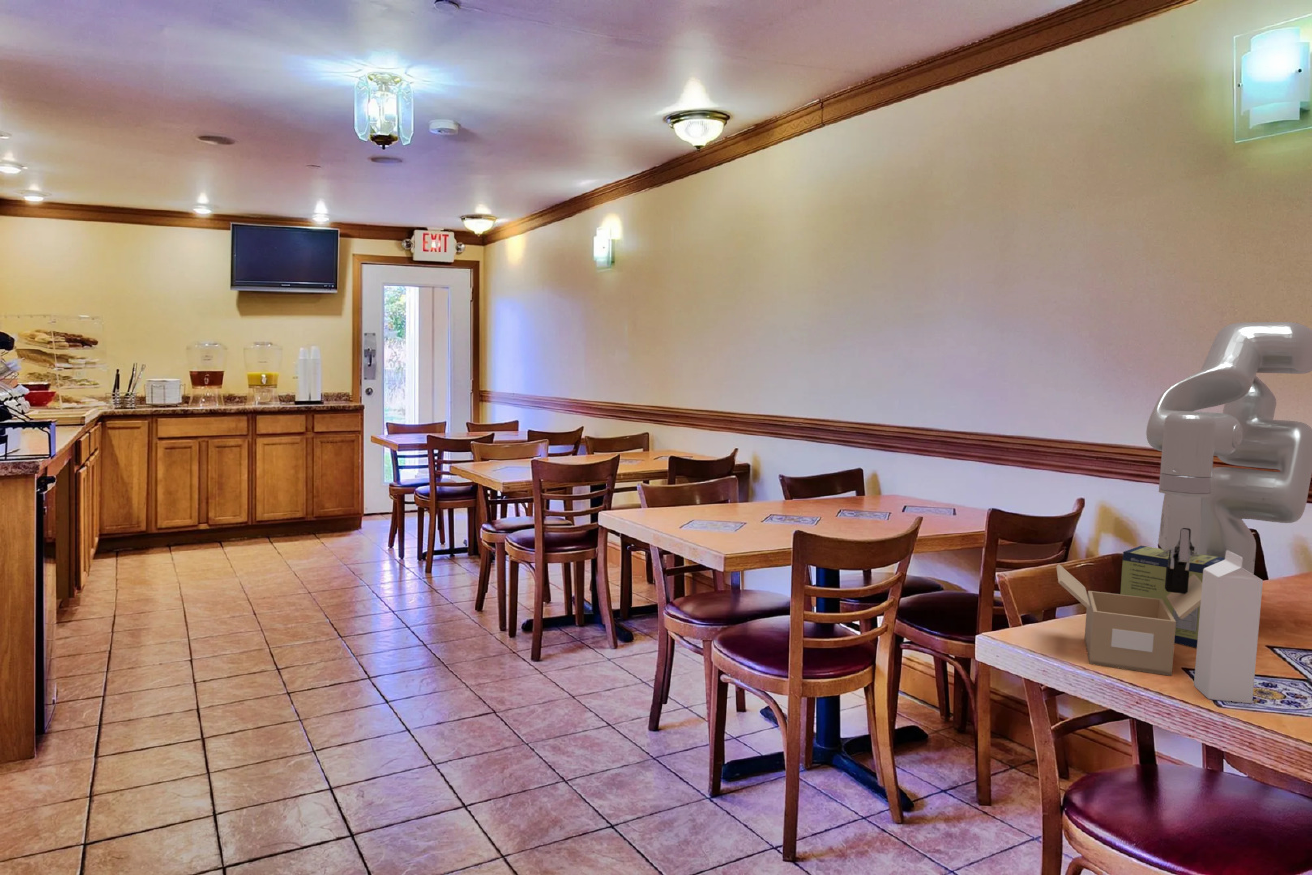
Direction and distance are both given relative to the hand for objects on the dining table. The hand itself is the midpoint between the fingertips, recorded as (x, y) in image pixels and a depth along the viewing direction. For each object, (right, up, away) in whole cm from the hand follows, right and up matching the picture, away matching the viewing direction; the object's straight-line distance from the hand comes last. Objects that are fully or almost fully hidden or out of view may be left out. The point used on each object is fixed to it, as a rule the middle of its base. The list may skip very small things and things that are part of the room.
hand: (1175, 591), depth 149 cm
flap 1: (-13, -2, +4) cm, 14 cm away
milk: (-2, -13, -15) cm, 21 cm away
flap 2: (-1, -3, -1) cm, 3 cm away
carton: (-8, -12, +2) cm, 14 cm away
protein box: (+8, -11, +16) cm, 21 cm away
